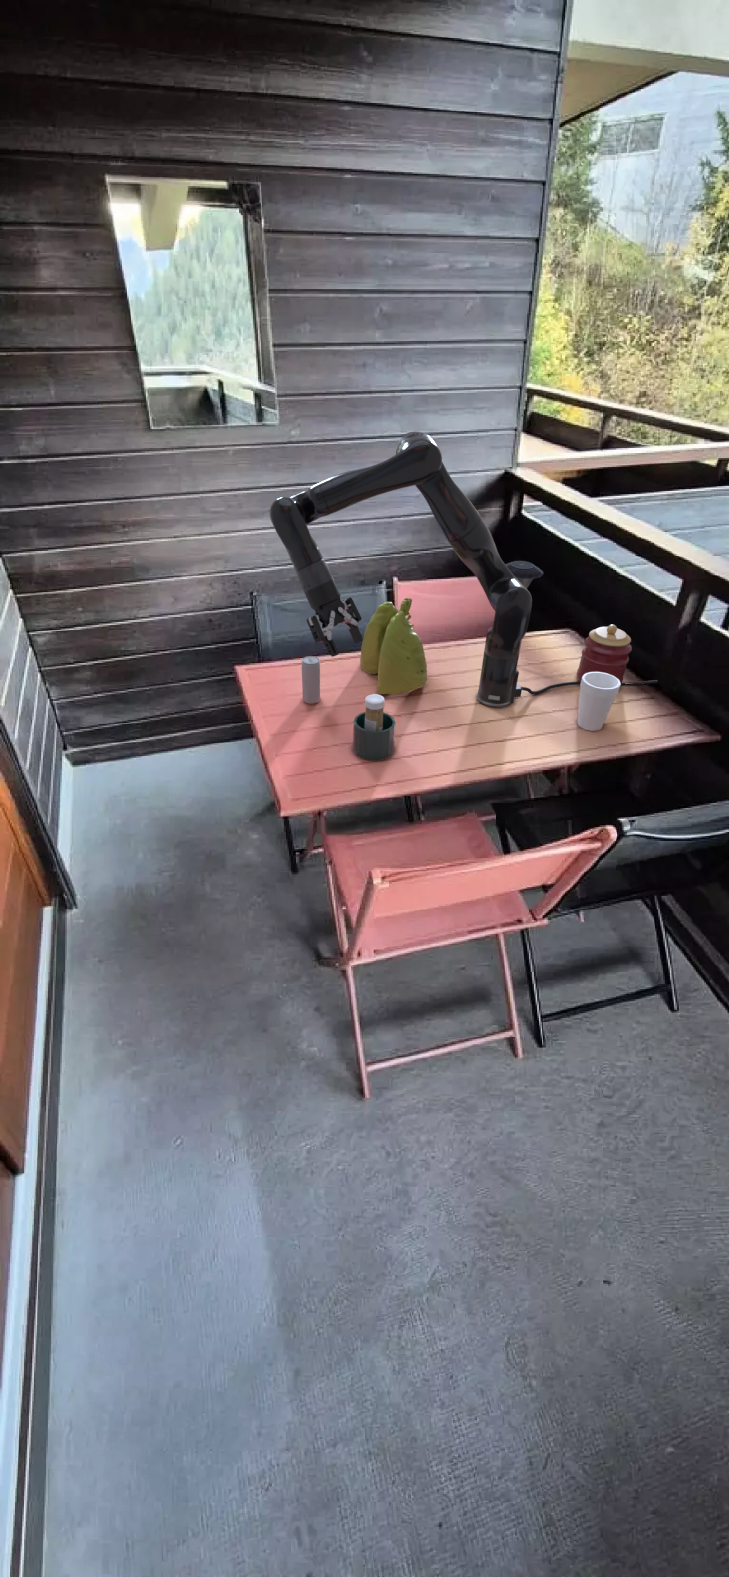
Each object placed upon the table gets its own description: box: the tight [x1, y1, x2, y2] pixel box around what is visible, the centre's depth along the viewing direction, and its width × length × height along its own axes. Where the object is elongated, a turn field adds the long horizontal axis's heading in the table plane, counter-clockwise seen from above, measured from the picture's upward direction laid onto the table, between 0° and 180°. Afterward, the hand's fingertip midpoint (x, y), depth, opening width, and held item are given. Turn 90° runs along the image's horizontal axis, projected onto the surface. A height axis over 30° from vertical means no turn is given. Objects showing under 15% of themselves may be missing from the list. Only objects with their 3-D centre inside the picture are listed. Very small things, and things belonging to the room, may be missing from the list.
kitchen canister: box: [576, 624, 633, 684], centre depth 198 cm, size 13×13×18 cm
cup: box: [352, 711, 396, 762], centre depth 169 cm, size 10×10×8 cm
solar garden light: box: [504, 560, 544, 590], centre depth 203 cm, size 12×12×30 cm
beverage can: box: [301, 655, 321, 705], centre depth 186 cm, size 5×5×12 cm
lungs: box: [359, 597, 428, 695], centre depth 194 cm, size 25×16×24 cm, turn 18°
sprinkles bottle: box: [364, 693, 386, 731], centre depth 167 cm, size 5×5×13 cm
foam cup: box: [577, 672, 621, 732], centre depth 180 cm, size 10×9×13 cm
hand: (347, 648), depth 166 cm, fingers open, 8 cm apart
